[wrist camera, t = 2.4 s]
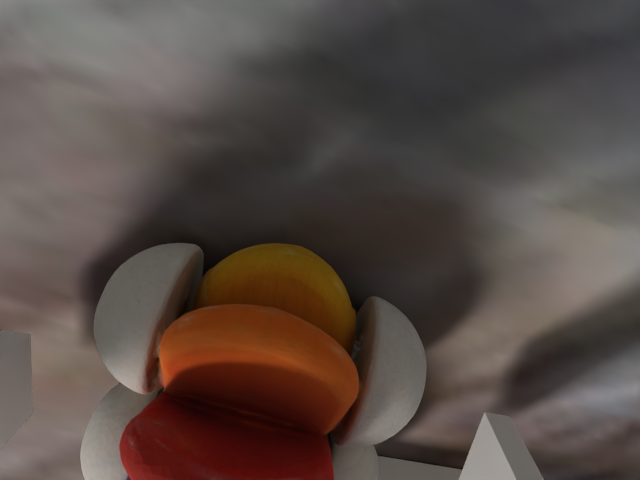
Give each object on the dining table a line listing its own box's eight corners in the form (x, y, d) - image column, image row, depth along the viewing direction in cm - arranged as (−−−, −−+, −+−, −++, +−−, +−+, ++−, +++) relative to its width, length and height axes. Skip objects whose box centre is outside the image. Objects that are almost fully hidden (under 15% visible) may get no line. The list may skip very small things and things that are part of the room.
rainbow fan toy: (435, 262, 13) (546, 461, 6) (342, 492, 16) (350, 786, 10) (153, 186, 13) (-57, 316, 6) (116, 441, 16) (-47, 715, 9)
